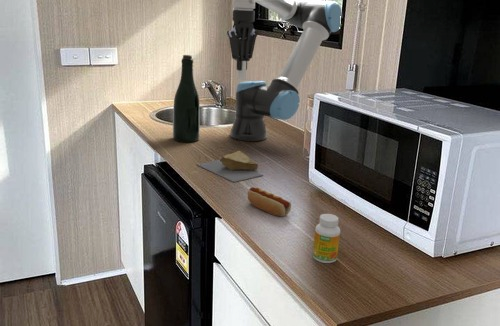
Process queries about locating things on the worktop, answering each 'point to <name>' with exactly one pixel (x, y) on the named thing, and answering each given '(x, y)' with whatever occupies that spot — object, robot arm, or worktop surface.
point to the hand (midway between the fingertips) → (241, 79)
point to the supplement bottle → (326, 239)
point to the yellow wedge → (238, 161)
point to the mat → (229, 171)
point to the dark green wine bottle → (186, 105)
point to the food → (268, 202)
